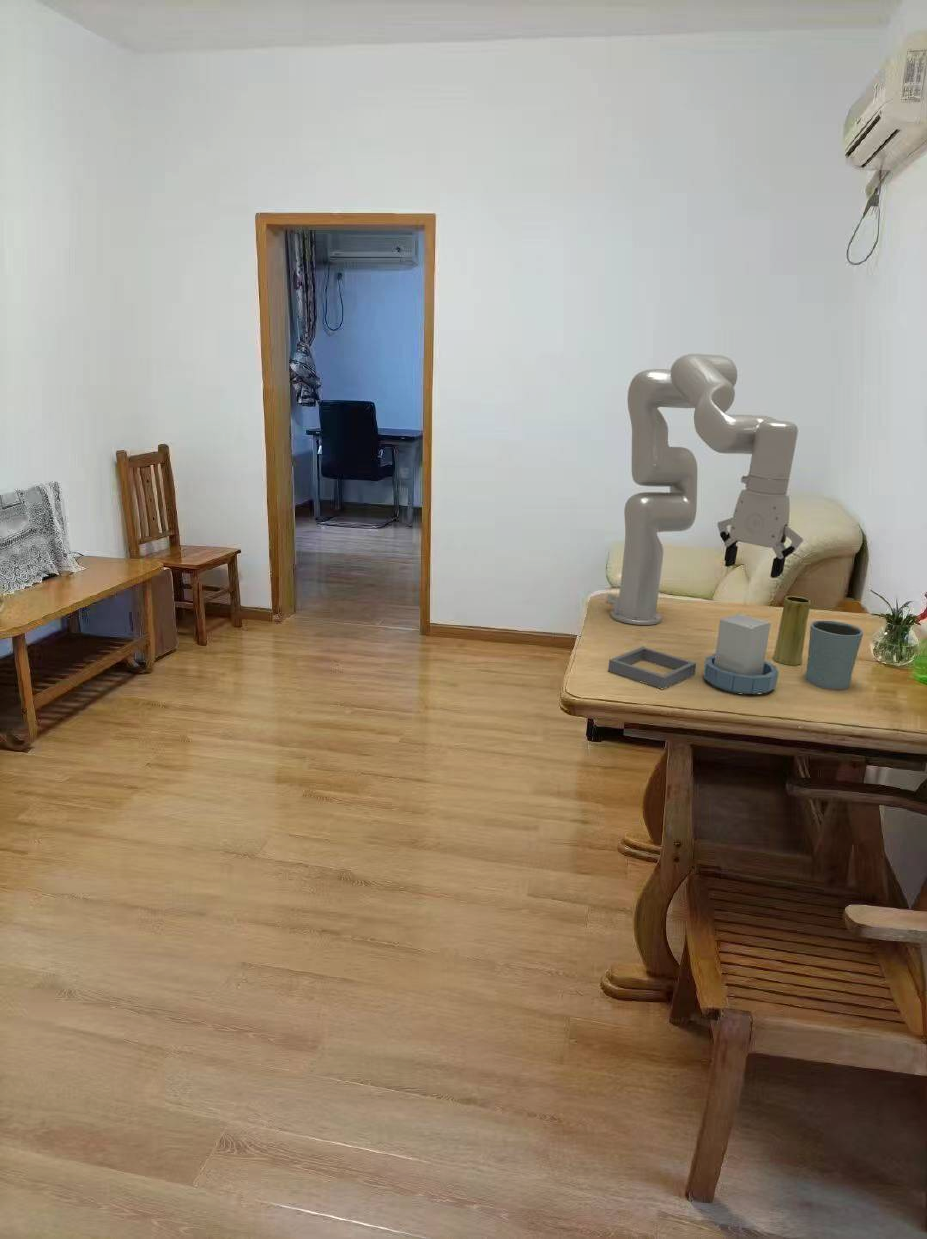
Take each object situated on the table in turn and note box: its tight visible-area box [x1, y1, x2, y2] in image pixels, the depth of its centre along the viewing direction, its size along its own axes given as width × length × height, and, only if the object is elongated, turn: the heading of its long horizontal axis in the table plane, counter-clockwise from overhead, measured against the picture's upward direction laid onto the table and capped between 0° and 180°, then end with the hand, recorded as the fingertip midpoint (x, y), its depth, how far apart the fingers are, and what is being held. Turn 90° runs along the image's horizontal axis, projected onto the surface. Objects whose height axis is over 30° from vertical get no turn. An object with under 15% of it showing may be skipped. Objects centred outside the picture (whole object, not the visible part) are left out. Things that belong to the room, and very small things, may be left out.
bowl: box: [703, 653, 779, 695], centre depth 175 cm, size 14×14×4 cm
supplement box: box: [714, 613, 771, 676], centre depth 173 cm, size 7×7×13 cm
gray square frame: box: [607, 646, 697, 690], centre depth 178 cm, size 13×13×2 cm
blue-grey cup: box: [805, 620, 864, 691], centre depth 177 cm, size 10×10×12 cm
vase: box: [772, 595, 812, 666], centre depth 188 cm, size 6×6×14 cm
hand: (752, 571), depth 171 cm, fingers open, 9 cm apart
